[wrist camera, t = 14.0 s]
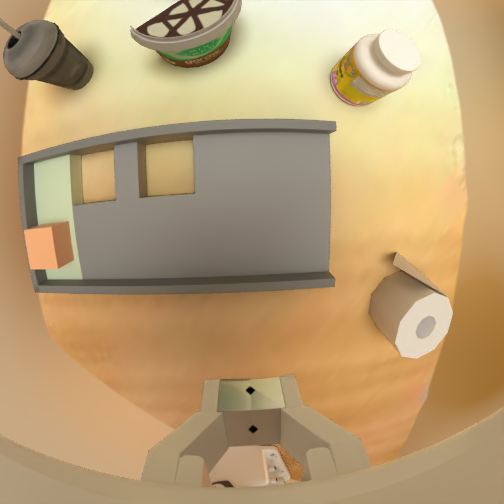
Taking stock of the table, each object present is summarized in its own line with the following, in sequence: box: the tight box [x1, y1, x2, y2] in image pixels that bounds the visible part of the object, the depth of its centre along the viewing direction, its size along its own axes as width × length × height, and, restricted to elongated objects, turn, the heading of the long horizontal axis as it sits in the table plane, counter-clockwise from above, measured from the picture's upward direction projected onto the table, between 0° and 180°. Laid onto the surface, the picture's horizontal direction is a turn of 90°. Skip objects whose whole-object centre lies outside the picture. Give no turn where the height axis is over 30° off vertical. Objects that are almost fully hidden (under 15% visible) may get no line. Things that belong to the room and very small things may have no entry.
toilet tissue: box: [369, 253, 453, 358], centre depth 34 cm, size 9×13×9 cm
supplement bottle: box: [331, 29, 421, 106], centre depth 24 cm, size 7×7×13 cm
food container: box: [130, 0, 242, 68], centre depth 24 cm, size 12×6×10 cm, turn 123°
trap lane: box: [18, 119, 336, 294], centre depth 31 cm, size 38×18×6 cm, turn 92°
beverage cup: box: [0, 19, 93, 90], centre depth 18 cm, size 7×7×20 cm
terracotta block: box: [24, 221, 74, 269], centre depth 29 cm, size 5×5×4 cm
